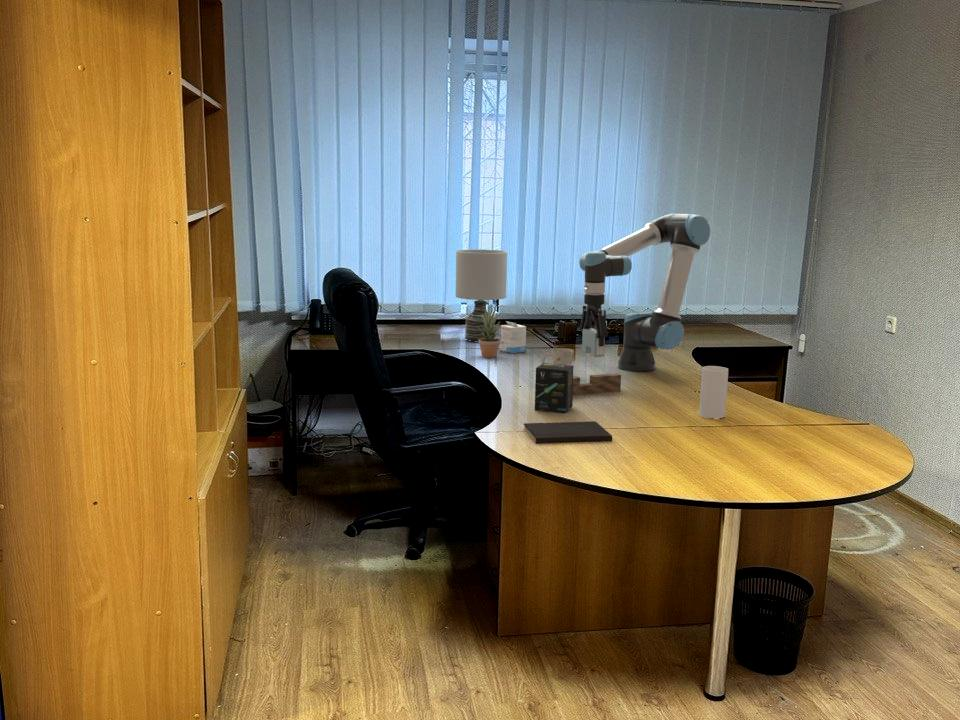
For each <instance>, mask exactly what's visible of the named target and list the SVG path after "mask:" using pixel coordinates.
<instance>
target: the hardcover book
mask: <svg viewBox="0 0 960 720" xmlns="http://www.w3.org/2000/svg"><path fill="white" fill-rule="evenodd" d="M523 425H524V431H525V432H526V433H527V434H528V435H529V437H530V438H531V439H532V440H533V441H534V443H535V444H536V445H539V444H540V445H541V444H544V445H545V444H571V443H596V442H597V443H599V442H600V443H602V442H612V441H613V435H612V434H611V433H610V432H608V430H606V429H605V428H604V427H603V426H602V425H601V424H600V423H599V422H597V421H595V420H594V421H590V420H589V421H565V422H564V421H561V422H560V421H559V422H526V423H523Z"/></svg>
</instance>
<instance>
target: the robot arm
mask: <svg viewBox="0 0 960 720" xmlns="http://www.w3.org/2000/svg"><path fill="white" fill-rule="evenodd" d="M710 237H711V228H710V224H709V221H708V220H707V218H705V217H704V216H702V215H701V214H696V213H695V214H694V213H691V214H690V213H669V214H666V215H662V216H660V217H657V218H656V219H653V220H652V221H649V222H647V223H645V224H644V226H643V228H641V229H639V230H637V231H635V232H632V233H630V234H629V235H627V236H624V237H623V238H621V239H619V240H617V241H615V242H612V243H610V244H609V245H607V246H605V247H603V248H600V249H599V250H596V251H588V252H585V253H583V254H581V256H580V258H579V261H578V263H579V268H580V269H581V271H583V272H584V286H583V287H584V293H585V294H584V295H583V296H584V299H583V303H584V304H585V305H583V306H582V313H581V320H580V326H579V329H580V330H579V331H581V333H582V332H583V329H589V328H592V324H593V323H594V325H595V330H597V335H598V336H597V337H596V338H597V344H596V355H604V356H605V340H604V338H607V337H609V335H608V334H609V333H608V325H607V310H605V309H602V305H604V304H605V297H606V296H605V293H606V278H607V277H619V276H620V277H622V276H627V275H629V274H630V273H631V270H632V265H633V264H632V263H633V262H632V260H631V258H630V257H631V256H633V255H635V254H637V253H638V252H640V251H643V250H645V249H646V248H648V247H649V248H650V246H654V247H655V246H659V245H660V244H664V243H669V246H670V247H671V249H672V250H671V251H672V252H671V255H670V260H669V263H668V266H667V269H666V270H667V271H666V275H665V279H664V282H663V286H662V290H661V295H660V297H659V302H658V305H657V308H656V309H655V310H652V311H651V312H650V311H647V312H645V311H644V312H640V311H639V312H629V313H626V314H625V317H624V322H623V324H624V325H623V347H622V351H621V354H620V356H619V360H618V363H617V367H618V368H619V369H621V370H625V371H632V372H651V371H654V370H655V369H656V361H655V357H654V354H653V348H656V349H657V348H658V349H660V350H673V349H676V347H678V346H679V345H680V344H681V342H682V341H683V339H684V336H685V329H684V325H683V324H682V316H681V315H680V311H681V307H682V303H683V299H684V296H685V292H686V288H687V285H688V284H687V283H688V280H689V276H690V272H691V268H692V265H693V261H694V257H695V254H697V253H699V252H700V249H701V246H703V245H705V244H707V242H708V241H709V238H710Z"/></svg>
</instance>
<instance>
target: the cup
mask: <svg viewBox="0 0 960 720" xmlns="http://www.w3.org/2000/svg"><path fill="white" fill-rule="evenodd" d="M701 370H702V371H701V381H700V382H701V385H700V396H699V397H700V398H699V413H698V416H699V415H700V416H702V417H701V418H703V417H706V418H705V419H707V418H723V417H726V407H727V394H728V380H729V368H727V367H723V366H719V365H718V366H717V365H707V366H706V365H705V366H702V369H701ZM700 416H699V417H700ZM723 419H724V418H723Z"/></svg>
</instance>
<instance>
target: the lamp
mask: <svg viewBox="0 0 960 720" xmlns="http://www.w3.org/2000/svg"><path fill="white" fill-rule="evenodd" d="M455 254H456V255H455V298H458V299H461V300H462V299H464V300H472V301H473V300H474V301H473V305H474V306H473V311H472V313H470V314H469V315H468V316H467V317H466V319H465V324H464V325H465V328H464V330H465V332H464V340H465V339H467V340H471V341H478V340H479V339H482V338H483V337H484V336H483V335H482V333H483V332H485V331H484V329H486V328H485V326H484V322H483V319H484V317H485V319H486V315H485V311H486V314H487V317H488V309H487V305H488V300H489V301H497V300H504V299H506V298H507V284H508V283H507V282H508V281H507V279H508V278H507V276H508V275H507V274H508V251H507V250H501V249H486V248H485V249H481V248H480V249H479V248H478V249H477V248H476V249H473V248H471V249H469V248H468V249H467V248H466V249H457V250H455ZM483 316H484V317H483ZM490 316H491V317H492V314H490ZM494 326H496V324H494ZM494 326H493V327H494ZM478 327H479V328H480V329H481V330H482V331H483V332H482V331H481V330H480V329H479V328H478ZM483 328H484V329H483ZM481 332H482V333H481ZM484 338H485V337H484ZM467 340H466V341H467Z"/></svg>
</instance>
